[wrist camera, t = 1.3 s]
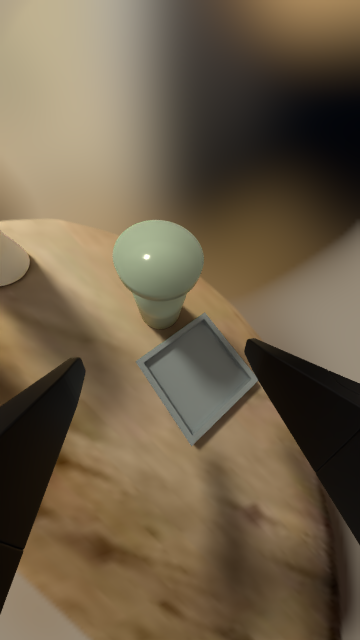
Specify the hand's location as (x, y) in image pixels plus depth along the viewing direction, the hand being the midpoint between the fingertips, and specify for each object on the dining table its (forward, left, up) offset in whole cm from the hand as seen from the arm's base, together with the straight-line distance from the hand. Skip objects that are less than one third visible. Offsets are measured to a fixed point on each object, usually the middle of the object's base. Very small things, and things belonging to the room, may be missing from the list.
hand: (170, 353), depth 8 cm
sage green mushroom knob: (+6, -4, -13) cm, 15 cm away
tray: (-4, -3, -13) cm, 14 cm away
